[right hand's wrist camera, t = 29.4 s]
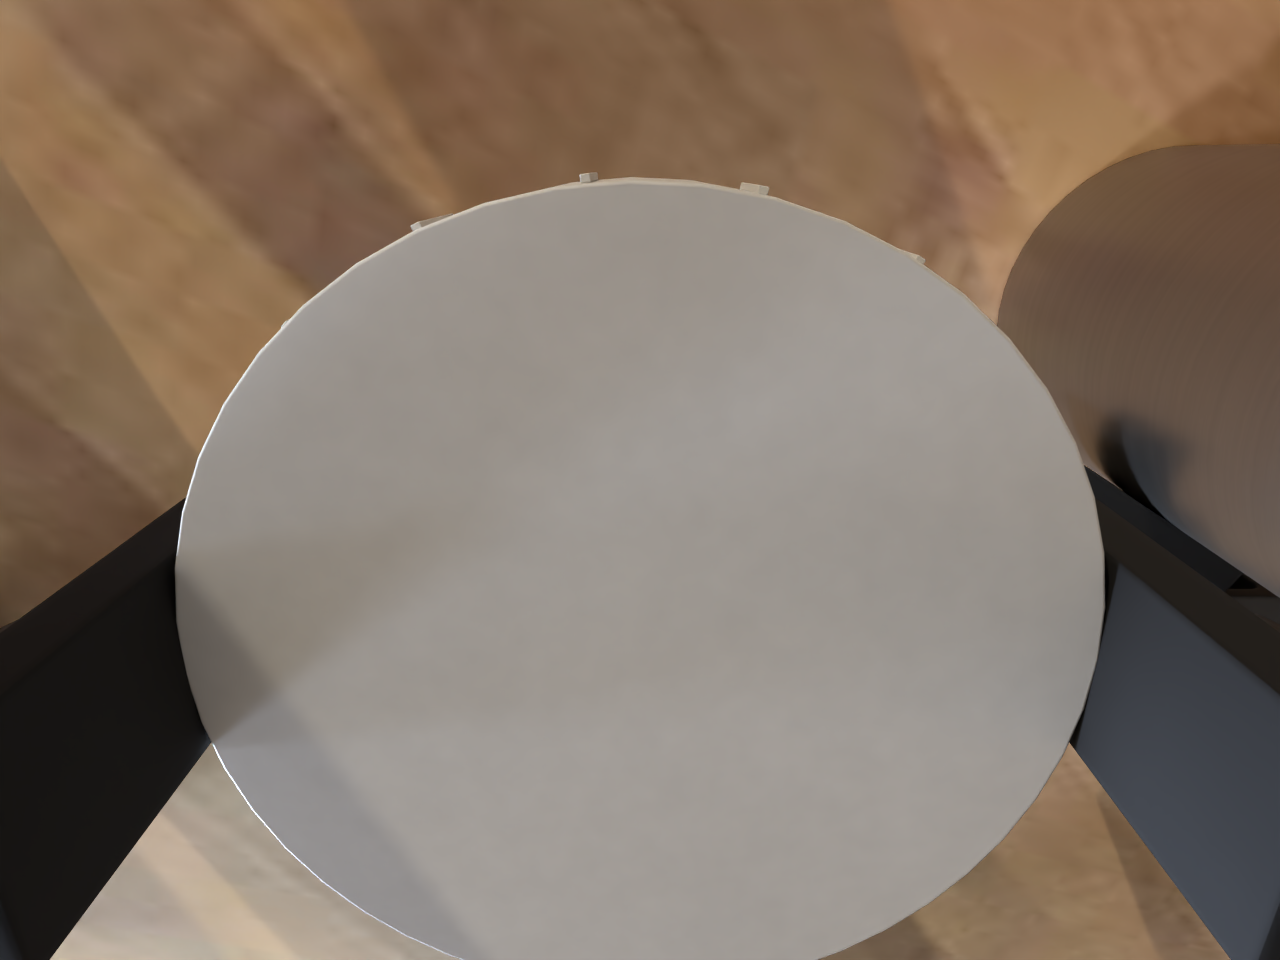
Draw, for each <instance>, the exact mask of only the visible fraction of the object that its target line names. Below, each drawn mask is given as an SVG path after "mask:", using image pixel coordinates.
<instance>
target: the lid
mask: <svg viewBox="0 0 1280 960" xmlns="http://www.w3.org/2000/svg"><path fill="white" fill-rule="evenodd" d="M768 191H769V187H766V186H762V185H757V184H750V183H744V182H742V183H741V186H740V189H735V188H730V187H725V186H720V185H715V184H709V183H704V182H699V181H694V180H682V179H662V178H642V177H626V178H615V179H604V180H598V173H597V172H594V173H585V174H580V182H572V183H567V184H563V185H559V186H555V187H550V188H546V189H542V190H537V191H533V192H529V193H525V194H520V195H516V196H512V197H508V198H503V199H499V200H495V201H490V202H486V203H483V204H480V205H478V206H475V207H472V208H470V209H467V210H465V211H462V212H460V213H457V214H454V215H453V214H452V213H451V214H447V215H443V216H439V217H435V218H431V219H427V220H423V221H419V222H417V223H415V224H413V225H411V228H412V230H413V232H411V233H409V234H407V235H406V236H404V237H402V238H400V239H399V240H397V241H395V242H393V243H392V244H390V245H388V246H386V247H385V248H383V249H381V250H379V251H377V252H376V253H374V254H372V255H370V256H369V257H367V258H365V259H363V260H362V261H360V262H358V263H356V264H355V265H354V266H352V267H351V268H350V269H349V270H347V271H346V272H345V273H344V274H342V275H341V276H340V277H338V278H337V279H336V280H335V281H333V282H332V283H331V284H329V285H328V286H327V287H326V288H324V289H323V290H322V291H321V292H319V293H318V294H317V295H315V296H314V297H313V298H312V299H310V300H309V301H308V302H306V303H305V304H304V305H303V306H302V307H301V308H300V309H299V310H298V311H297V312H296V313H295V314H294V315H293V316H292V317H291V319H289V320H287V321H285V323H284V324H283V325H282V326H281V327H282V328H281V329H280V330H279V331H278V332H277V333H276V334H275V336H274V337H273V338H272V339H271V340H270V341H269V342H268V343H267V344H266V345H265V346H264V347H263V348H262V349H261V350H260V351H259V353H258V354H257V356H256V357H255V359H254V360H253V361H252V363H251V364H250V366H249V367H248V369H247V370H246V372H245V373H244V375H243V376H242V378H241V379H240V380H239V382H238V383H237V385H236V386H235V388H234V389H233V391H232V392H231V394H230V395H229V397H228V398H227V399H226V401H225V402H224V404H223V406H222V408H221V410H220V412H219V415H218V417H217V419H216V421H215V423H214V425H213V427H212V429H211V431H210V434H209V436H208V438H207V440H206V442H205V444H204V446H203V448H202V450H201V452H200V455H199V457H198V460H197V463H196V467H195V470H194V474H193V477H192V480H191V484H190V487H189V491H188V494H187V497H186V501H185V504H184V508H183V511H182V517H181V525H180V532H179V540H178V548H177V556H176V563H175V592H176V623H177V629H178V634H179V640H180V645H181V649H182V654H183V658H184V663H185V668H186V672H187V676H188V680H189V684H190V688H191V692H192V695H193V698H194V701H195V704H196V707H197V710H198V713H199V716H200V719H201V722H202V724H203V726H204V728H205V730H206V732H207V734H208V736H209V738H210V740H211V742H212V744H213V746H214V748H215V750H216V752H217V754H218V756H219V758H220V760H221V762H222V764H223V766H224V768H225V770H226V771H227V773H228V774H229V776H230V777H231V779H232V780H233V782H234V783H235V785H236V786H237V788H238V789H239V791H240V792H241V794H242V795H243V797H244V798H245V800H246V801H247V803H248V804H249V806H250V807H251V809H252V810H253V811H254V813H255V814H256V815H257V816H258V817H259V818H260V819H261V821H262V822H263V823H264V824H265V825H266V826H267V827H268V829H269V830H270V831H271V832H272V833H273V834H274V836H275V837H276V838H277V839H278V840H279V841H280V842H281V844H282V845H283V846H284V847H285V848H286V849H287V850H288V851H289V852H290V853H291V854H292V855H293V856H295V857H296V858H297V859H298V860H299V861H300V862H301V863H302V864H303V865H304V866H306V867H307V868H308V869H309V870H310V871H311V872H312V873H313V874H314V875H315V876H317V877H318V878H319V879H320V880H321V881H322V882H323V883H325V884H326V885H327V886H329V887H330V888H332V889H333V890H334V891H336V892H337V893H339V894H340V895H341V896H343V897H344V898H345V899H347V900H348V901H350V902H351V903H352V904H354V905H355V906H357V907H358V908H359V909H361V910H362V911H363V912H365V913H367V914H369V915H370V916H372V917H374V918H376V919H377V920H379V921H381V922H383V923H384V924H386V925H388V926H390V927H391V928H393V929H395V930H397V931H398V932H400V933H402V934H404V935H405V936H407V937H410V938H412V939H414V940H416V941H419V942H421V943H423V944H426V945H428V946H430V947H432V948H435V949H437V950H439V951H441V952H444V953H446V954H448V955H450V956H453V957H456V958H459V959H462V960H818V959H821V958H824V957H826V956H829V955H832V954H835V953H838V952H840V951H843V950H845V949H847V948H849V947H851V946H853V945H855V944H857V943H859V942H862V941H864V940H866V939H868V938H870V937H872V936H874V935H876V934H878V933H880V932H883V931H885V930H887V929H888V928H890V927H892V926H893V925H895V924H896V923H898V922H900V921H901V920H903V919H905V918H906V917H908V916H910V915H911V914H913V913H914V912H916V911H918V910H919V909H921V908H923V907H924V906H926V905H928V904H929V903H930V902H932V901H933V900H934V899H936V898H937V897H938V896H939V895H941V894H942V893H943V892H945V891H946V890H947V889H949V888H950V887H951V886H952V885H954V884H955V883H956V882H958V881H959V880H960V879H962V878H963V877H964V876H965V875H967V874H968V873H969V872H970V871H971V870H972V869H973V868H974V867H975V866H976V865H977V864H978V863H979V862H980V861H982V860H983V859H984V858H985V857H986V856H987V855H988V854H989V853H990V852H991V851H992V850H993V849H994V848H995V847H996V846H997V845H998V844H999V843H1000V842H1001V841H1002V840H1003V839H1004V838H1005V837H1006V836H1007V834H1008V833H1009V832H1010V831H1011V830H1012V828H1013V827H1014V826H1015V825H1016V823H1017V822H1018V821H1019V820H1020V818H1021V817H1022V816H1023V815H1024V814H1025V812H1026V811H1027V810H1028V809H1029V807H1030V806H1031V805H1032V804H1033V802H1034V801H1035V800H1036V798H1037V797H1038V795H1039V794H1040V792H1041V790H1042V789H1043V787H1044V786H1045V784H1046V782H1047V781H1048V779H1049V778H1050V776H1051V774H1052V773H1053V771H1054V769H1055V768H1056V766H1057V765H1058V763H1059V761H1060V760H1061V758H1062V757H1063V754H1064V752H1065V750H1066V748H1067V746H1068V743H1069V741H1070V739H1071V737H1072V734H1073V732H1074V730H1075V728H1076V725H1077V723H1078V721H1079V719H1080V717H1081V714H1082V712H1083V710H1084V707H1085V703H1086V700H1087V696H1088V693H1089V689H1090V686H1091V682H1092V679H1093V675H1094V671H1095V667H1096V663H1097V659H1098V654H1099V649H1100V642H1101V634H1102V627H1103V620H1104V612H1105V565H1104V549H1103V543H1102V537H1101V531H1100V526H1099V520H1098V514H1097V508H1096V503H1095V497H1094V494H1093V491H1092V488H1091V485H1090V482H1089V479H1088V476H1087V473H1086V471H1085V468H1084V465H1083V462H1082V459H1081V456H1080V453H1079V450H1078V447H1077V444H1076V442H1075V440H1074V438H1073V436H1072V434H1071V432H1070V430H1069V428H1068V426H1067V425H1066V423H1065V421H1064V419H1063V417H1062V415H1061V413H1060V411H1059V410H1058V408H1057V406H1056V404H1055V402H1054V400H1053V398H1052V396H1051V394H1050V393H1049V391H1048V389H1047V387H1046V386H1045V385H1044V383H1043V382H1042V381H1041V379H1040V378H1039V377H1038V375H1037V374H1036V373H1035V371H1034V370H1033V369H1032V367H1031V366H1030V365H1029V363H1028V362H1027V361H1026V360H1025V358H1024V357H1023V356H1022V354H1021V353H1020V352H1019V350H1018V349H1017V348H1016V346H1015V345H1014V344H1013V342H1012V341H1011V340H1010V338H1009V337H1008V336H1007V335H1006V334H1005V333H1004V332H1003V331H1002V330H1000V329H999V328H998V327H997V326H996V325H995V324H994V323H993V322H992V321H991V320H990V319H989V318H988V317H987V316H986V315H985V314H984V313H983V312H982V311H981V310H980V309H979V308H978V307H977V306H976V305H975V304H974V303H973V302H972V301H971V300H970V299H969V298H968V297H967V296H966V295H965V294H964V293H962V292H961V291H960V290H958V289H957V288H955V287H954V286H953V285H951V284H950V283H948V282H947V281H946V280H944V279H943V278H941V277H940V276H939V275H937V274H936V273H934V272H933V271H932V270H930V269H929V268H928V267H926V266H925V265H923V264H924V262H925V261H926V260H925V259H924V258H922V257H921V256H919V255H916V254H913V253H910V252H907V251H904V250H901V249H898V248H897V247H895V246H893V245H891V244H889V243H887V242H885V241H883V240H881V239H879V238H877V237H875V236H873V235H871V234H869V233H867V232H865V231H863V230H862V229H860V228H858V227H856V226H854V225H852V224H850V223H848V222H846V221H844V220H841V219H838V218H835V217H832V216H829V215H826V214H823V213H820V212H817V211H815V210H812V209H809V208H806V207H803V206H800V205H797V204H794V203H791V202H788V201H785V200H783V199H780V198H777V197H773V196H768Z"/></svg>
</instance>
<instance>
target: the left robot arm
mask: <svg viewBox="0 0 1280 960" xmlns="http://www.w3.org/2000/svg"><path fill="white" fill-rule="evenodd" d="M1084 468H1085V471H1086V473H1087V476H1088V479H1089V482H1090V485H1091V488H1092V491H1093V494H1094V497H1095V498H1096V499H1098V500H1099V501H1100V502H1102V503H1103V504H1104V505H1106V506H1107V507H1109V508H1110V509H1111V510H1113V511H1114V512H1115V513H1117V514H1118V515H1119V516H1121V517H1122V518H1124V519H1125V520H1126V521H1128V522H1129V523H1130V524H1132V525H1133V526H1135V527H1136V528H1137V529H1139V530H1140V531H1141V532H1143V533H1144V534H1145V535H1147V536H1148V537H1150V538H1151V539H1152V540H1154V541H1155V542H1156V543H1158V544H1159V545H1161V546H1162V547H1163V548H1165V549H1166V550H1167V551H1169V552H1170V553H1171V554H1173V555H1174V556H1176V557H1177V558H1178V559H1180V560H1181V561H1182V562H1184V563H1185V564H1187V565H1188V566H1189V567H1191V568H1192V569H1193V570H1195V571H1196V572H1198V573H1199V574H1200V575H1202V576H1203V577H1204V578H1206V579H1207V580H1208V581H1210V582H1211V583H1213V584H1214V585H1215V586H1217V587H1218V588H1219V589H1221V590H1222V591H1224V592H1225V593H1226V594H1228V595H1229V596H1230V597H1232V598H1233V599H1234V600H1236V601H1237V602H1239V603H1240V604H1241V605H1243V606H1244V607H1245V608H1247V609H1248V610H1250V611H1251V612H1252V613H1254V614H1258V615H1261V616H1263V617H1265V618H1267V619H1269V620H1271V621H1273V622H1276V623H1278V624H1280V598H1279V597H1278V596H1276V595H1275V594H1273V593H1272V592H1270V591H1269V590H1268V589H1266V588H1265V587H1263V586H1262V585H1260V584H1259V583H1257V582H1256V581H1254V580H1253V579H1251V578H1250V577H1249V576H1247V575H1246V574H1244V573H1243V572H1241V571H1240V570H1238V569H1237V568H1235V567H1234V566H1232V565H1231V564H1229V563H1228V562H1227V561H1225V560H1224V559H1222V558H1221V557H1219V556H1218V555H1216V554H1215V553H1213V552H1212V551H1210V550H1209V549H1207V548H1206V547H1205V546H1203V545H1202V544H1200V543H1199V542H1197V541H1196V540H1194V539H1193V538H1191V537H1190V536H1188V535H1187V534H1185V533H1184V532H1183V531H1181V530H1180V529H1178V528H1177V527H1176V526H1174V525H1173V524H1171V523H1170V522H1168V521H1167V520H1165V519H1164V518H1162V517H1161V516H1159V515H1158V514H1156V513H1155V512H1154V511H1152V510H1151V509H1149V508H1148V507H1146V506H1145V505H1143V504H1142V503H1140V502H1139V501H1137V500H1136V499H1134V498H1133V497H1132V496H1130V495H1129V494H1127V493H1126V492H1124V491H1123V490H1121V489H1120V488H1118V487H1117V486H1115V485H1114V484H1112V483H1110V482H1109V481H1107V480H1106V479H1104V478H1103V477H1101V476H1100V475H1098V474H1097V473H1095V472H1094V471H1092V470H1091V469H1089V468H1088V467H1086V466H1085V465H1084Z"/></svg>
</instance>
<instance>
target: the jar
mask: <svg viewBox="0 0 1280 960" xmlns="http://www.w3.org/2000/svg"><path fill="white" fill-rule="evenodd" d="M997 327H998V328H999V329H1000V330H1002V331H1003V332H1004V333H1005V334H1006V335H1007V336H1008V337H1009V338H1010V340H1011V341H1012V342H1013V344H1014V345H1015V346H1016V348H1017V349H1018V350H1019V352H1020V353H1021V354H1022V356H1023V357H1024V358H1025V360H1026V361H1027V362H1028V363H1029V365H1030V366H1031V367H1032V369H1033V370H1034V371H1035V373H1036V374H1037V375H1038V377H1039V378H1040V379H1041V381H1042V382H1043V383H1044V385H1045V386H1046V387H1047V389H1048V391H1049V393H1050V394H1051V396H1052V398H1053V400H1054V402H1055V404H1056V406H1057V408H1058V410H1059V411H1060V413H1061V415H1062V417H1063V419H1064V421H1065V423H1066V425H1067V426H1068V428H1069V430H1070V432H1071V434H1072V436H1073V438H1074V440H1075V442H1076V444H1077V447H1078V450H1079V453H1080V456H1081V459H1082V462H1083V464H1084V465H1086V466H1087V467H1089V468H1090V469H1092V470H1093V471H1095V472H1096V473H1098V474H1099V475H1101V476H1102V477H1103V478H1105V479H1106V480H1108V481H1109V482H1111V483H1112V484H1114V485H1115V486H1117V487H1118V488H1120V489H1121V490H1123V491H1124V492H1126V493H1127V494H1129V495H1130V496H1132V497H1133V498H1134V499H1136V500H1137V501H1139V502H1140V503H1142V504H1143V505H1145V506H1146V507H1148V508H1149V509H1151V510H1152V511H1154V512H1155V513H1156V514H1158V515H1159V516H1161V517H1162V518H1164V519H1165V520H1167V521H1168V522H1170V523H1171V524H1173V525H1174V526H1176V527H1177V528H1178V529H1180V530H1181V531H1183V532H1184V533H1185V534H1187V535H1188V536H1190V537H1191V538H1193V539H1194V540H1196V541H1197V542H1199V543H1200V544H1202V545H1203V546H1205V547H1206V548H1207V549H1209V550H1210V551H1212V552H1213V553H1215V554H1216V555H1218V556H1219V557H1221V558H1222V559H1224V560H1225V561H1227V562H1228V563H1229V564H1231V565H1232V566H1234V567H1235V568H1237V569H1238V570H1240V571H1241V572H1243V573H1244V574H1246V575H1247V576H1249V577H1250V578H1251V579H1253V580H1254V581H1256V582H1257V583H1259V584H1260V585H1262V586H1263V587H1265V588H1266V589H1268V590H1269V591H1270V592H1272V593H1273V594H1275V595H1276V596H1278V597H1279V598H1280V144H1244V145H1194V146H1174V147H1168V148H1163V149H1157V150H1152V151H1149V152H1146V153H1142V154H1139V155H1136V156H1133V157H1130V158H1128V159H1125V160H1123V161H1121V162H1119V163H1117V164H1114V165H1112V166H1110V167H1108V168H1106V169H1105V170H1103V171H1101V172H1100V173H1098V174H1096V175H1095V176H1093V177H1091V178H1090V179H1088V180H1087V181H1085V182H1084V183H1083V184H1081V185H1080V186H1079V187H1077V188H1076V189H1075V190H1074V191H1072V192H1071V193H1070V194H1068V195H1067V196H1066V197H1065V198H1064V199H1063V200H1062V201H1061V202H1060V203H1059V204H1058V205H1057V206H1056V207H1055V208H1054V209H1053V210H1052V211H1051V212H1050V213H1049V214H1048V215H1047V216H1046V217H1045V219H1044V220H1043V221H1042V222H1041V223H1040V225H1039V226H1038V227H1037V228H1036V229H1035V231H1034V232H1033V234H1032V235H1031V237H1030V238H1029V240H1028V241H1027V243H1026V244H1025V246H1024V247H1023V249H1022V251H1021V253H1020V255H1019V256H1018V258H1017V260H1016V262H1015V264H1014V266H1013V268H1012V270H1011V273H1010V276H1009V278H1008V281H1007V284H1006V286H1005V289H1004V292H1003V296H1002V300H1001V304H1000V309H999V315H998V323H997Z"/></svg>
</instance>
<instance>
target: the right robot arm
mask: <svg viewBox="0 0 1280 960" xmlns="http://www.w3.org/2000/svg"><path fill="white" fill-rule="evenodd" d="M185 501H186V498H184V499H183V500H182V501H180V502H179V503H178V504H176V505H175V506H173V507H172V508H171V509H169V510H168V511H167V512H165V513H164V514H163V515H161V516H160V517H158V518H157V519H156V520H154V521H153V522H152V523H150V524H149V525H147V526H146V527H145V528H143V529H142V530H141V531H139V532H138V533H137V534H135V535H134V536H132V537H131V538H130V539H128V540H127V541H126V542H124V543H123V544H121V545H120V546H119V547H117V548H116V549H115V550H113V551H112V552H111V553H109V554H108V555H106V556H105V557H104V558H102V559H101V560H100V561H98V562H97V563H95V564H94V565H93V566H91V567H90V568H89V569H87V570H86V571H84V572H83V573H82V574H80V575H79V576H78V577H76V578H75V579H74V580H72V581H71V582H69V583H68V584H67V585H65V586H64V587H63V588H61V589H60V590H58V591H57V592H56V593H54V594H53V595H52V596H50V597H49V598H48V599H46V600H45V601H43V602H42V603H41V604H39V605H38V606H37V607H35V608H34V609H32V610H31V611H30V612H28V613H27V614H26V615H24V616H23V617H22V618H20V619H19V620H17V621H14V622H12V623H10V624H8V625H6V626H4V627H2V628H0V960H50V958H51V957H52V956H53V954H54V953H55V952H56V950H57V949H58V948H59V946H60V945H61V944H62V942H63V941H64V940H65V938H66V937H67V935H68V934H69V933H70V931H71V930H72V929H73V927H74V926H75V925H76V923H77V922H78V921H79V919H80V918H81V917H82V915H83V914H84V913H85V911H86V910H87V909H88V907H89V906H90V905H91V903H92V902H93V901H94V899H95V898H96V896H97V895H98V894H99V892H100V891H101V890H102V888H103V887H104V886H105V884H106V883H107V882H108V880H109V879H110V878H111V876H112V875H113V874H114V872H115V871H116V870H117V868H118V867H119V866H120V864H121V863H122V862H123V860H124V859H125V857H126V856H127V855H128V853H129V852H130V851H131V849H132V848H133V847H134V845H135V844H136V843H137V841H138V840H139V839H140V837H141V836H142V835H143V833H144V832H145V831H146V829H147V828H148V827H149V825H150V824H151V823H152V821H153V820H154V818H155V817H156V816H157V814H158V813H159V812H160V810H161V809H162V808H163V806H164V805H165V804H166V802H167V801H168V800H169V798H170V797H171V796H172V794H173V793H174V792H175V790H176V789H177V788H178V786H179V785H180V784H181V782H182V781H183V779H184V778H185V777H186V775H187V774H188V773H189V771H190V770H191V769H192V767H193V766H194V765H195V763H196V762H197V761H198V759H199V758H200V757H201V755H202V754H203V753H204V751H205V750H206V749H207V747H208V746H209V745H210V743H211V740H210V738H209V736H208V734H207V732H206V730H205V728H204V726H203V724H202V722H201V719H200V716H199V713H198V710H197V707H196V704H195V701H194V698H193V695H192V692H191V688H190V684H189V680H188V676H187V672H186V668H185V663H184V658H183V654H182V649H181V645H180V640H179V634H178V629H177V623H176V592H175V563H176V556H177V548H178V540H179V532H180V525H181V517H182V511H183V508H184V504H185ZM1095 503H1096V508H1097V514H1098V520H1099V526H1100V531H1101V537H1102V543H1103V549H1104V565H1105V612H1104V620H1103V627H1102V634H1101V642H1100V649H1099V654H1098V659H1097V663H1096V667H1095V671H1094V675H1093V679H1092V682H1091V686H1090V689H1089V693H1088V696H1087V700H1086V703H1085V707H1084V710H1083V712H1082V714H1081V717H1080V719H1079V721H1078V723H1077V725H1076V728H1075V730H1074V732H1073V734H1072V737H1071V739H1070V741H1069V742H1070V744H1071V745H1072V746H1073V748H1074V749H1075V750H1076V752H1077V753H1078V755H1079V756H1080V757H1081V759H1082V760H1083V761H1084V763H1085V764H1086V765H1087V767H1088V768H1089V769H1090V771H1091V772H1092V773H1093V775H1094V776H1095V777H1096V779H1097V780H1098V781H1099V783H1100V784H1101V785H1102V787H1103V788H1104V789H1105V791H1106V792H1107V794H1108V795H1109V796H1110V798H1111V799H1112V800H1113V802H1114V803H1115V804H1116V806H1117V807H1118V808H1119V810H1120V811H1121V812H1122V814H1123V815H1124V816H1125V818H1126V819H1127V820H1128V822H1129V823H1130V824H1131V826H1132V827H1133V828H1134V830H1135V831H1136V833H1137V834H1138V835H1139V837H1140V838H1141V839H1142V841H1143V842H1144V843H1145V845H1146V846H1147V847H1148V849H1149V850H1150V851H1151V853H1152V854H1153V855H1154V857H1155V858H1156V859H1157V861H1158V862H1159V863H1160V865H1161V866H1162V867H1163V869H1164V870H1165V872H1166V873H1167V874H1168V876H1169V877H1170V878H1171V880H1172V881H1173V882H1174V884H1175V885H1176V886H1177V888H1178V889H1179V890H1180V892H1181V893H1182V894H1183V896H1184V897H1185V898H1186V900H1187V901H1188V902H1189V904H1190V905H1191V906H1192V908H1193V909H1194V911H1195V912H1196V913H1197V915H1198V916H1199V917H1200V919H1201V920H1202V921H1203V923H1204V924H1205V925H1206V927H1207V928H1208V929H1209V931H1210V932H1211V933H1212V935H1213V936H1214V937H1215V939H1216V940H1217V941H1218V943H1219V944H1220V945H1221V947H1222V948H1223V949H1224V951H1225V952H1226V954H1227V955H1228V956H1229V958H1230V959H1231V960H1280V624H1278V623H1276V622H1273V621H1271V620H1269V619H1267V618H1265V617H1263V616H1261V615H1258V614H1254V613H1252V612H1251V611H1250V610H1248V609H1247V608H1245V607H1244V606H1243V605H1241V604H1240V603H1239V602H1237V601H1236V600H1234V599H1233V598H1232V597H1230V596H1229V595H1228V594H1226V593H1225V592H1224V591H1222V590H1221V589H1219V588H1218V587H1217V586H1215V585H1214V584H1213V583H1211V582H1210V581H1208V580H1207V579H1206V578H1204V577H1203V576H1202V575H1200V574H1199V573H1198V572H1196V571H1195V570H1193V569H1192V568H1191V567H1189V566H1188V565H1187V564H1185V563H1184V562H1182V561H1181V560H1180V559H1178V558H1177V557H1176V556H1174V555H1173V554H1171V553H1170V552H1169V551H1167V550H1166V549H1165V548H1163V547H1162V546H1161V545H1159V544H1158V543H1156V542H1155V541H1154V540H1152V539H1151V538H1150V537H1148V536H1147V535H1145V534H1144V533H1143V532H1141V531H1140V530H1139V529H1137V528H1136V527H1135V526H1133V525H1132V524H1130V523H1129V522H1128V521H1126V520H1125V519H1124V518H1122V517H1121V516H1119V515H1118V514H1117V513H1115V512H1114V511H1113V510H1111V509H1110V508H1109V507H1107V506H1106V505H1104V504H1103V503H1102V502H1100V501H1099V500H1098V499H1096V498H1095Z"/></svg>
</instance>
